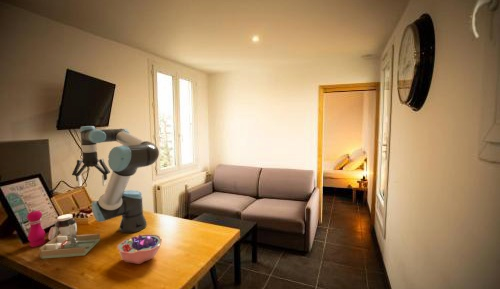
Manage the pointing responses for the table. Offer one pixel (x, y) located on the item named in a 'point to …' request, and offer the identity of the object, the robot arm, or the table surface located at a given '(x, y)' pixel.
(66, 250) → the beige tray
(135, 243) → the cell model
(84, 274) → the table surface
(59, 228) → the spread jar
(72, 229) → the kicker rod
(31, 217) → the pepper mill
